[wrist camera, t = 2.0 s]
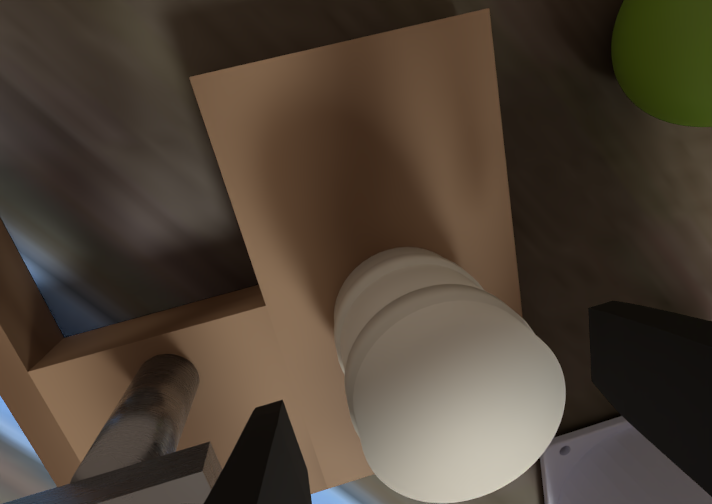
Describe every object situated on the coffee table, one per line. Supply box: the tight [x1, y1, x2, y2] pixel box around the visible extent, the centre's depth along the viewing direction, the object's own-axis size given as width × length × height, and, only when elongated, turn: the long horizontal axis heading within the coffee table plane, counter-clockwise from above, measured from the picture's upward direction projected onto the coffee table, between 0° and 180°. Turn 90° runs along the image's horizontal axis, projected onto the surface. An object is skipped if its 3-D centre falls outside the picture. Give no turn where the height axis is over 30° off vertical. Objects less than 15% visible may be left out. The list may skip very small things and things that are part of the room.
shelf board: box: [0, 8, 523, 494], centre depth 13 cm, size 16×14×2 cm
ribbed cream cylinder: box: [334, 247, 566, 503], centre depth 11 cm, size 5×5×5 cm
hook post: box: [3, 354, 222, 504], centre depth 10 cm, size 4×2×5 cm, turn 103°
